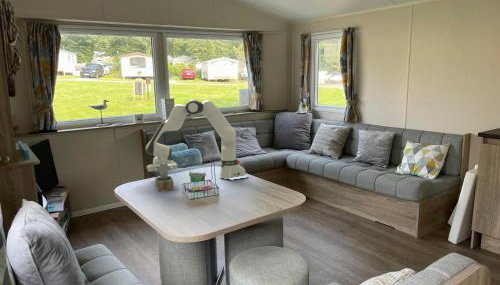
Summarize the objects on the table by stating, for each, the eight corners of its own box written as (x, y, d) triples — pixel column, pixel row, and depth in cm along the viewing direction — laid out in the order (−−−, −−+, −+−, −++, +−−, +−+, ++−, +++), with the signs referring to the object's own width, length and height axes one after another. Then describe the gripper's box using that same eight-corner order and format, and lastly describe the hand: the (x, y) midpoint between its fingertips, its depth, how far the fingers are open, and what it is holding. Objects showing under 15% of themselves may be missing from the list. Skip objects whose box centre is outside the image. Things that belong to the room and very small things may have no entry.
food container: (186, 187, 257) (185, 173, 255) (190, 184, 262) (189, 171, 261) (202, 188, 253) (202, 174, 251) (205, 186, 259) (205, 172, 257)
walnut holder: (170, 184, 263) (169, 175, 262) (173, 189, 250) (173, 180, 249) (155, 185, 259) (155, 176, 258) (158, 191, 246) (158, 182, 245)
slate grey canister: (167, 179, 257) (166, 162, 255) (168, 181, 252) (167, 164, 250) (159, 180, 255) (159, 163, 253) (161, 182, 251) (160, 164, 248)
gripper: (145, 162, 260) (148, 166, 247) (175, 159, 267) (178, 164, 255) (146, 170, 261) (148, 175, 248) (175, 168, 268) (178, 172, 256)
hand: (164, 169), depth 252 cm, fingers open, 8 cm apart
